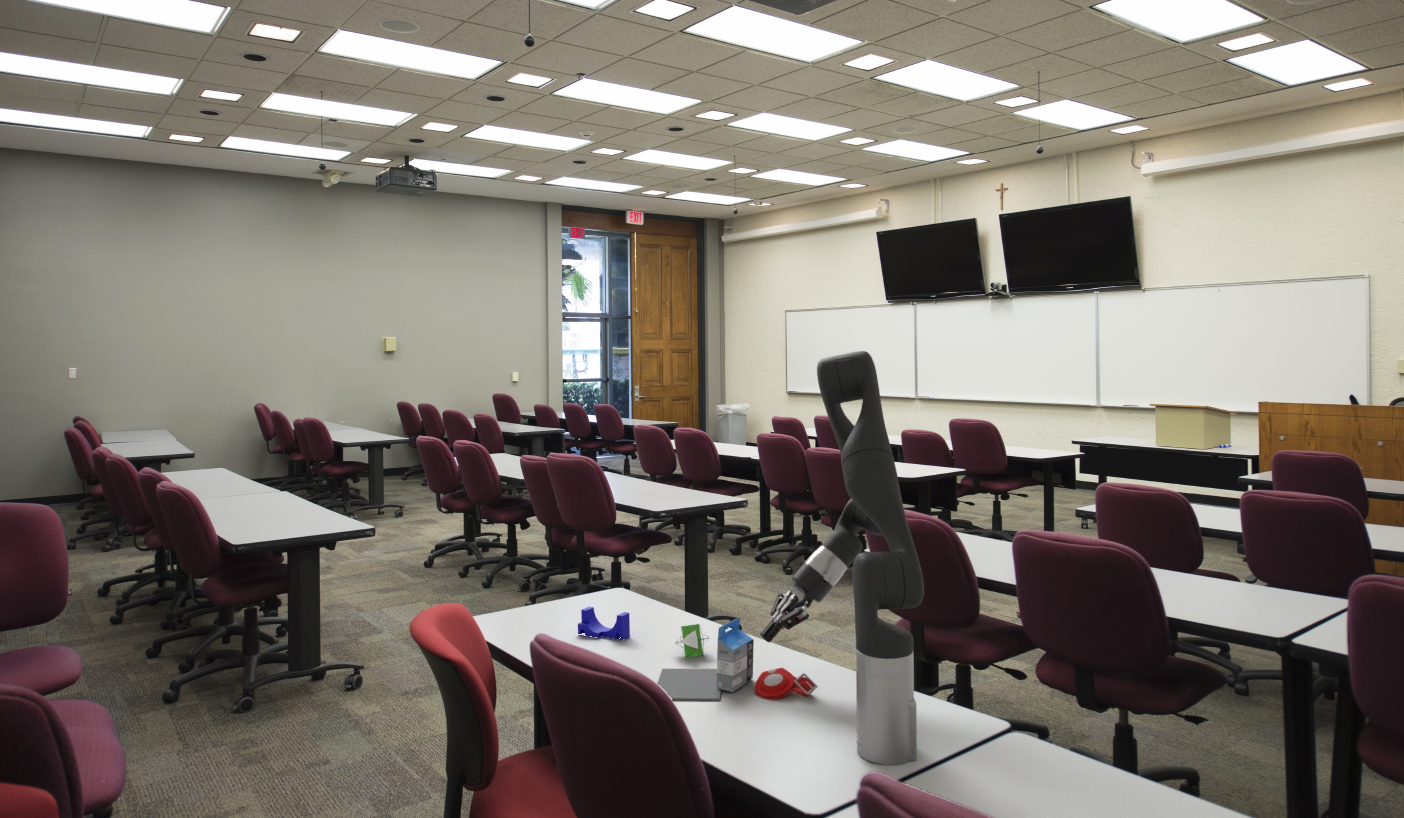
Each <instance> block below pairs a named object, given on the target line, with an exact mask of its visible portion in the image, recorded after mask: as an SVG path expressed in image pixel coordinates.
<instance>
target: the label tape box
mask: <svg viewBox="0 0 1404 818" xmlns="http://www.w3.org/2000/svg"><path fill="white" fill-rule="evenodd" d="M740 623H741V617H738V618H735V619H733V620H731V621H730V622H728V623H725V624H723V625H721V626H720V627H718V632H717V647H716V649H717V651H716V652H717V654H716V655H717V657H716V658H717V660H716V669H717V688H718V689H721V691H726V692H731V693H733V692H735V691H736V690H739V688H741V687H743V686H744V685H745V684H747V683H749V682H750V681H751V680H753V679H754V678H753V677H754V648H755V647H754V642H755V641H754V638H752V637H751V636H749V635H748V634H747V633H746V632H744V631H742V630H741V629H740ZM729 628H731V629H729ZM728 629H729V630H728Z"/></svg>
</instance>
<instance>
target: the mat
mask: <svg viewBox="0 0 1404 818" xmlns="http://www.w3.org/2000/svg"><path fill="white" fill-rule="evenodd" d="M656 683H657V684H658V685H660V686H661V687H662V688H663V689H664V690H665V691H666V692H667V694H668V695H669V696H670V697H671V698H672V699H673V700H672V701H699V702H700V701H701V702H703V701H709V702H710V701H712V702H713V701H714V702H720V699H721V694H722V690H721V689H718V688H717V668H662V669H661V672H660V675H659V678H658V681H657V682H656ZM657 684H656V685H657Z"/></svg>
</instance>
